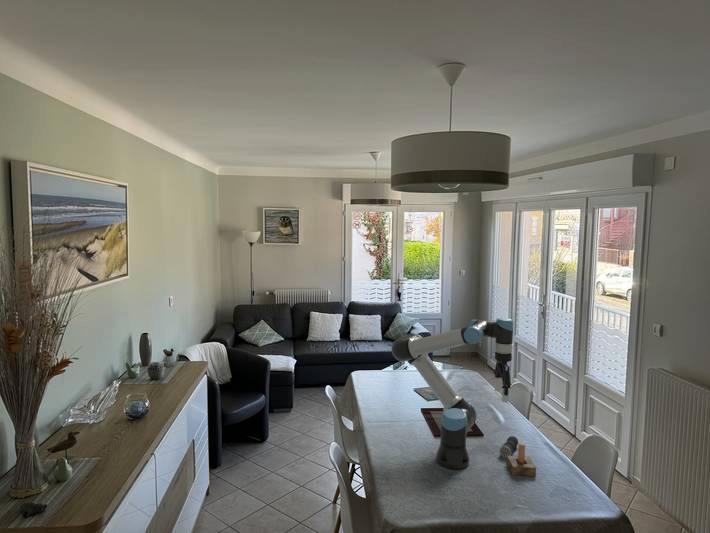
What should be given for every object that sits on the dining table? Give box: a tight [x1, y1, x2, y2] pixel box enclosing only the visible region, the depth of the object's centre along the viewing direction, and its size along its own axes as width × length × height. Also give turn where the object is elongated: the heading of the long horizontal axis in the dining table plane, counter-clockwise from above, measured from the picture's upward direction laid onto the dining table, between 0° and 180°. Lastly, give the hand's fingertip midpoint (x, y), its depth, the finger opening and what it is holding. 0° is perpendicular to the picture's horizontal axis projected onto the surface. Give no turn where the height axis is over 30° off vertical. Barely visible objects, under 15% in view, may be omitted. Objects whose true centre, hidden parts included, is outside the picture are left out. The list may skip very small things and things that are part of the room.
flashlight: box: [499, 435, 519, 459], centre depth 232 cm, size 15×5×5 cm, turn 147°
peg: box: [517, 442, 526, 464], centre depth 214 cm, size 3×3×12 cm
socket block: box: [506, 455, 537, 477], centre depth 214 cm, size 10×10×4 cm
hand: (501, 396), depth 221 cm, fingers open, 13 cm apart
